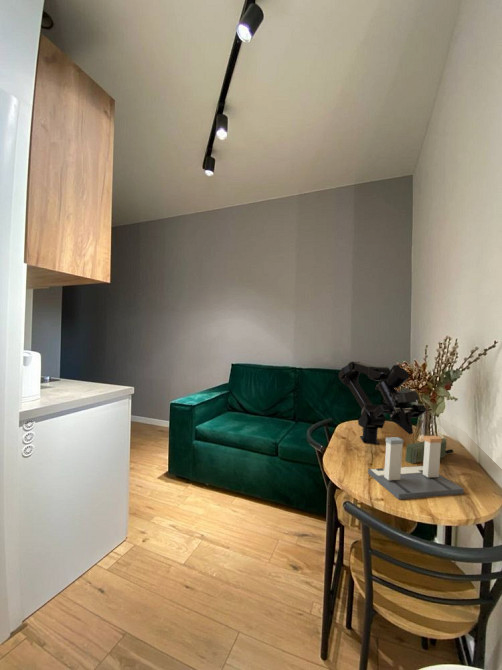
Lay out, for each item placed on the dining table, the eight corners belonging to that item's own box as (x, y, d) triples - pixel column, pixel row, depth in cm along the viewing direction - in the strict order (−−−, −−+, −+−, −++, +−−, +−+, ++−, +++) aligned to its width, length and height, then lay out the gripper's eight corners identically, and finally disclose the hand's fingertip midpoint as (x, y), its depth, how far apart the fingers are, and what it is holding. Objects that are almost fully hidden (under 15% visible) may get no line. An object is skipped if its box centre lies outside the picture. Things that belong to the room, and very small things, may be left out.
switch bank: (368, 473, 88) (368, 468, 88) (425, 469, 92) (425, 464, 92) (398, 499, 75) (399, 493, 75) (463, 493, 79) (463, 487, 79)
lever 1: (383, 476, 83) (385, 437, 83) (395, 475, 84) (397, 437, 84) (388, 480, 81) (391, 440, 80) (400, 479, 82) (403, 440, 81)
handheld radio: (403, 460, 99) (446, 451, 109) (411, 465, 96) (455, 456, 106) (405, 443, 99) (448, 435, 108) (413, 447, 96) (457, 439, 105)
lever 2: (421, 473, 86) (424, 436, 86) (433, 473, 87) (435, 435, 86) (427, 477, 84) (430, 439, 83) (439, 477, 84) (442, 438, 84)
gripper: (380, 382, 96) (401, 423, 86) (424, 383, 100) (449, 422, 90) (365, 398, 104) (383, 438, 94) (406, 398, 108) (428, 436, 97)
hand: (411, 433), depth 93 cm, fingers closed
